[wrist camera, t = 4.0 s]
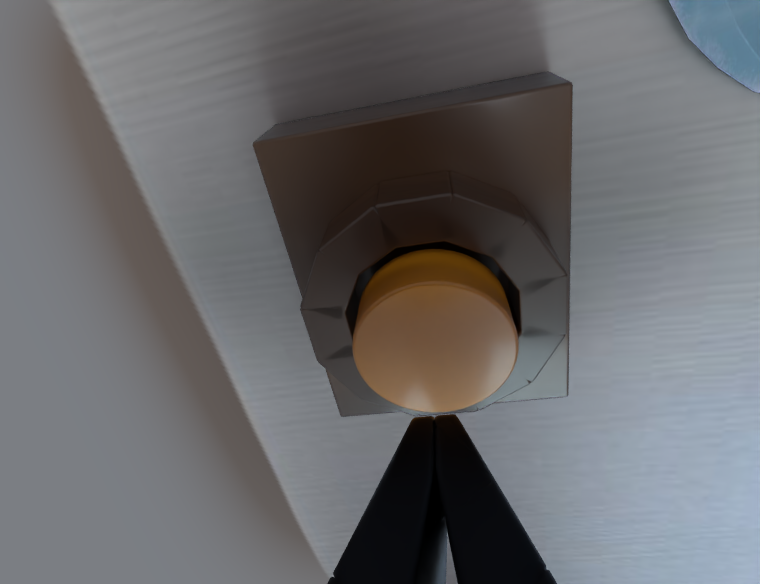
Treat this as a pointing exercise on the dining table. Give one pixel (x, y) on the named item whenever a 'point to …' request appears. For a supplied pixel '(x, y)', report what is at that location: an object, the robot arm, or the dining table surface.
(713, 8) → the knife
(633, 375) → the dining table surface
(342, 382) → the walnut button block
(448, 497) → the robot arm
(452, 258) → the amber button
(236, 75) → the dining table surface
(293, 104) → the dining table surface
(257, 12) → the dining table surface
